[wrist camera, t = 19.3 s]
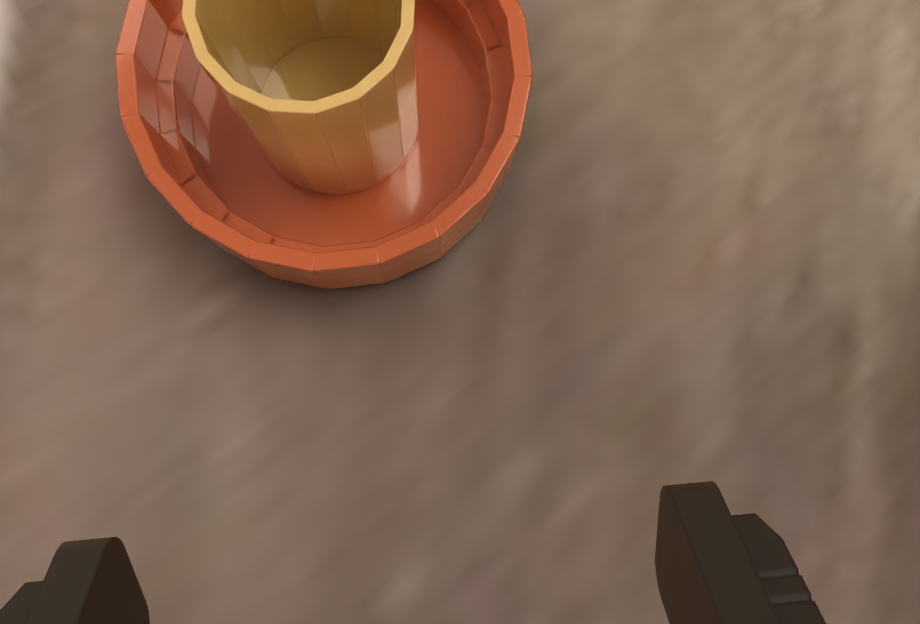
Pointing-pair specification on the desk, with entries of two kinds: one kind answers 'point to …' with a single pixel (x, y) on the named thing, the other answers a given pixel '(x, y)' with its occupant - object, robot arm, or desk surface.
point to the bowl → (322, 215)
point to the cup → (316, 83)
